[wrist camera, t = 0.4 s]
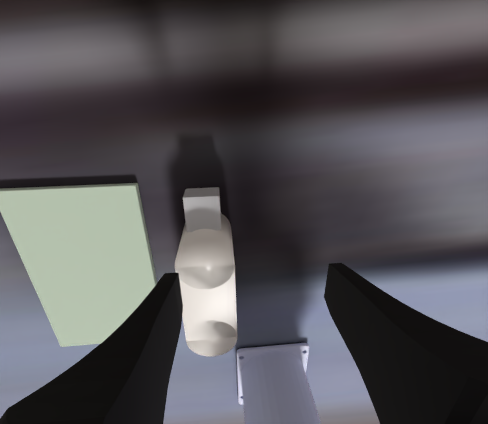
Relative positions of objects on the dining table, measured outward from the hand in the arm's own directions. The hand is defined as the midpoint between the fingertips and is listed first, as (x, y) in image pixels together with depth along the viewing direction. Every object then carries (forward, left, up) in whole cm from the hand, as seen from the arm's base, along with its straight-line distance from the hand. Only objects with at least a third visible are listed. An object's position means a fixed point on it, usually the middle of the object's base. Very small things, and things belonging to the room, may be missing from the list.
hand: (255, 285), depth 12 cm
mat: (-6, +13, -10) cm, 17 cm away
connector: (-4, +3, -10) cm, 11 cm away
